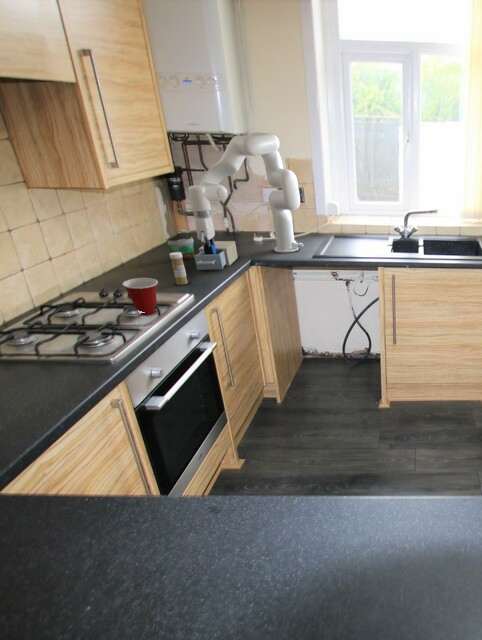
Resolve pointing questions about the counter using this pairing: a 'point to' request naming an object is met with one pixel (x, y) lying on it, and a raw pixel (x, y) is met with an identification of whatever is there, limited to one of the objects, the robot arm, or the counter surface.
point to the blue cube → (213, 248)
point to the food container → (183, 247)
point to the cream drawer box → (226, 250)
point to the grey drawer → (210, 260)
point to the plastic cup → (142, 294)
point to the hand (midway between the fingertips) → (210, 253)
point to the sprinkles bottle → (178, 268)
